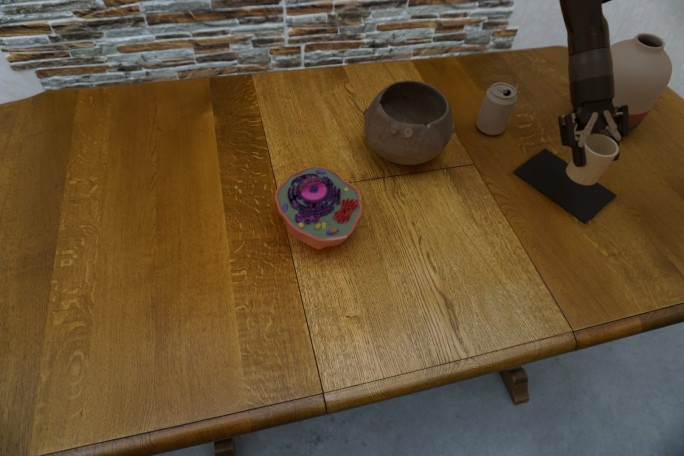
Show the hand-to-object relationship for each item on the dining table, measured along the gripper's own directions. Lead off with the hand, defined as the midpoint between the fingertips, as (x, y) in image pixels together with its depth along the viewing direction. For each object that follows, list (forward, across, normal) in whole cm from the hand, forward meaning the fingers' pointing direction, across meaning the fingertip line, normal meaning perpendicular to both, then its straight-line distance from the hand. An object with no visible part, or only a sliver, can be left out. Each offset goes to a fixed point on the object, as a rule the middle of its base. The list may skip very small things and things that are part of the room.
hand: (596, 163), depth 90 cm
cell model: (+5, -54, +19) cm, 57 cm away
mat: (+6, +5, +18) cm, 19 cm away
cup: (+2, 0, +4) cm, 5 cm away
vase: (-7, +28, +30) cm, 42 cm away
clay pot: (-8, -28, +32) cm, 43 cm away
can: (-10, -3, +34) cm, 35 cm away
